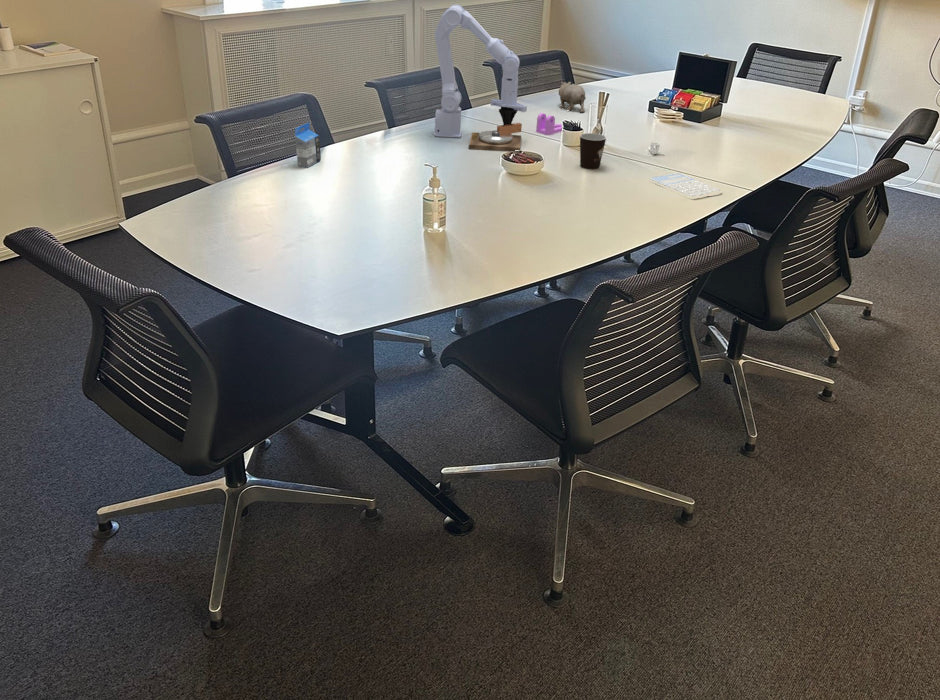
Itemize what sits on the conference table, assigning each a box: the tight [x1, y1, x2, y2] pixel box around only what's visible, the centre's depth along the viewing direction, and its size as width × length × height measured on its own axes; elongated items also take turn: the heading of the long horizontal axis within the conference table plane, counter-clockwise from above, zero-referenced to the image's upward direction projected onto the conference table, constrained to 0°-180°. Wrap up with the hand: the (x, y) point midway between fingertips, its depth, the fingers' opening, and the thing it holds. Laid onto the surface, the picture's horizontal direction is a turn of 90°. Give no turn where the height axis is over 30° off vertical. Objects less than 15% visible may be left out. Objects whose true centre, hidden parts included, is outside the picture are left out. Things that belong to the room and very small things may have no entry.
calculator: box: [649, 172, 721, 197], centre depth 258 cm, size 13×20×2 cm, turn 32°
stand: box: [468, 132, 522, 152], centre depth 291 cm, size 18×16×3 cm
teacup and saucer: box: [647, 142, 661, 155], centre depth 289 cm, size 9×8×4 cm
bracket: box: [535, 112, 563, 136], centre depth 309 cm, size 13×6×7 cm, turn 135°
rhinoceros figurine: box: [558, 81, 586, 113], centre depth 340 cm, size 9×15×17 cm
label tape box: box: [294, 121, 322, 169], centre depth 261 cm, size 9×4×12 cm, turn 160°
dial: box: [479, 122, 523, 144], centre depth 292 cm, size 17×12×4 cm
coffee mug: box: [579, 132, 607, 170], centre depth 272 cm, size 12×9×10 cm
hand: (507, 128), depth 297 cm, fingers closed
